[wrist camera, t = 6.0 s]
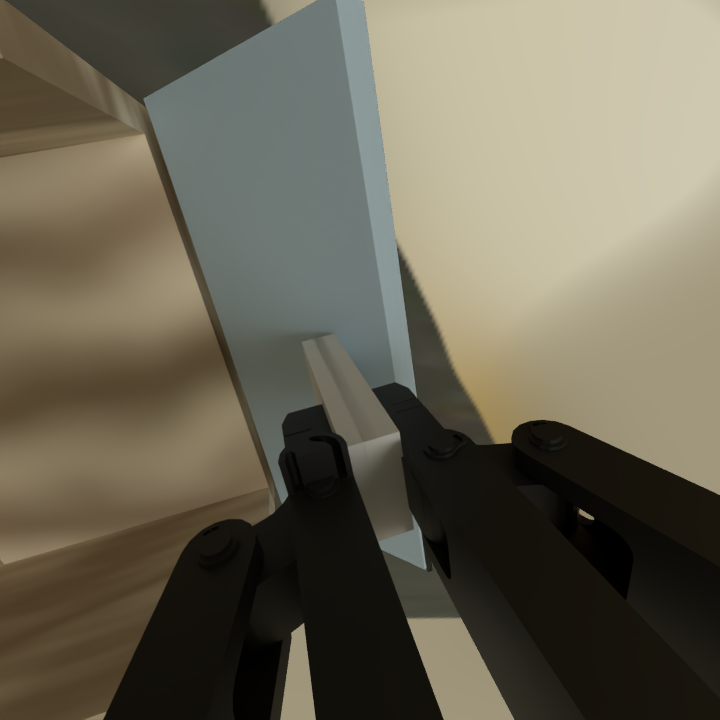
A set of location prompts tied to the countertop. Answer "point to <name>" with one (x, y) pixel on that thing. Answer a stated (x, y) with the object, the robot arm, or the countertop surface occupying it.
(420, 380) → the countertop surface
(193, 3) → the countertop surface
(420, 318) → the countertop surface
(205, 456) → the crate
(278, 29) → the panel
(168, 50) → the countertop surface
